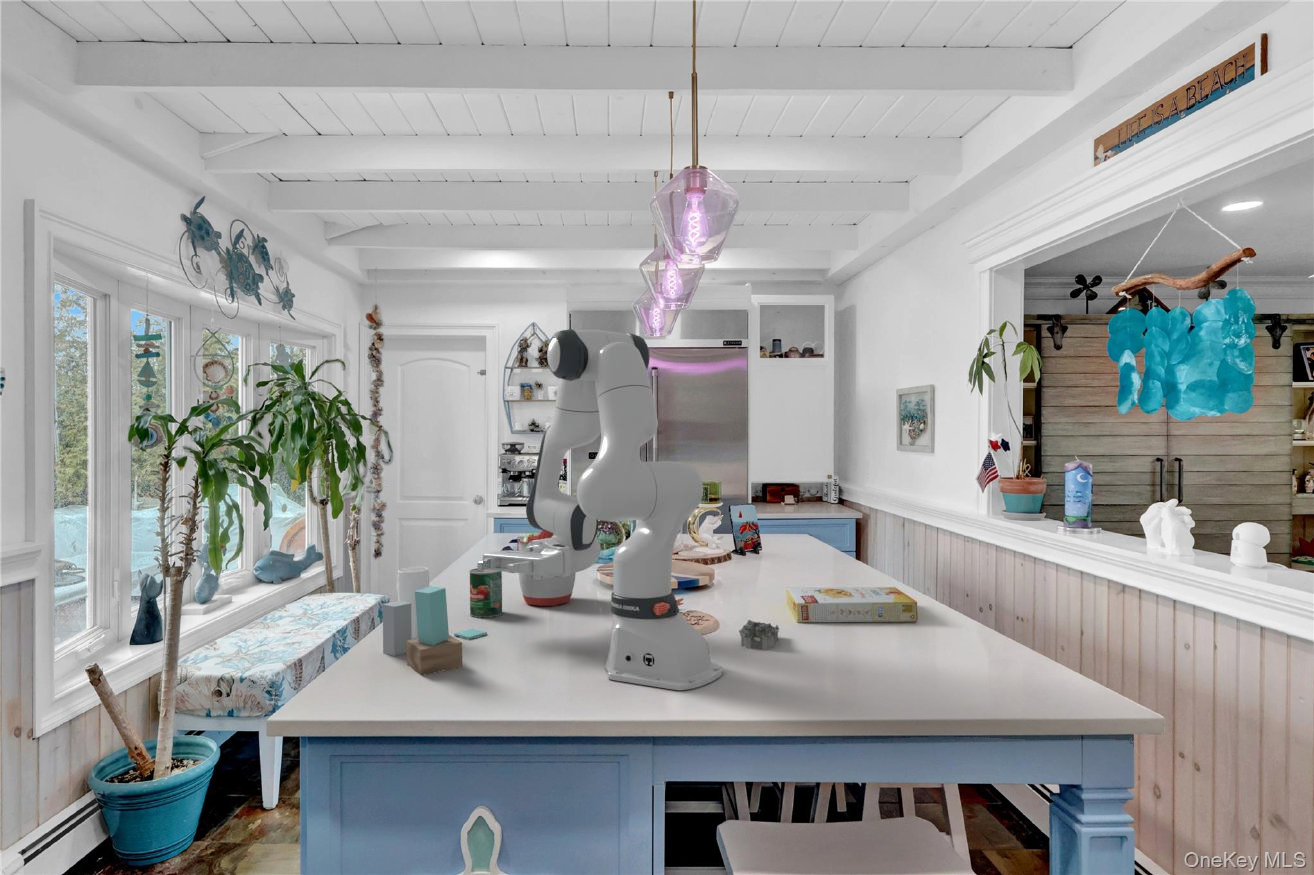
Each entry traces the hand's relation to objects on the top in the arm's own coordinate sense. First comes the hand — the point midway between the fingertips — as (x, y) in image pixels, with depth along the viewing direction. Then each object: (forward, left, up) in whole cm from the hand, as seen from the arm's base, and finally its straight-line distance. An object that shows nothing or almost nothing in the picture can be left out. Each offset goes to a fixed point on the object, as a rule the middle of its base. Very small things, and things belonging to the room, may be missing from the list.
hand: (494, 567), depth 154 cm
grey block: (+14, +14, -17) cm, 26 cm away
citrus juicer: (+23, -36, -17) cm, 46 cm away
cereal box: (-47, -71, -18) cm, 87 cm away
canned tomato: (+25, -18, -17) cm, 35 cm away
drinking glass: (+21, +5, -17) cm, 28 cm away
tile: (+12, -3, -17) cm, 21 cm away
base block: (0, +15, -17) cm, 23 cm away
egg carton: (-42, -36, -17) cm, 58 cm away
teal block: (0, +15, -12) cm, 19 cm away
